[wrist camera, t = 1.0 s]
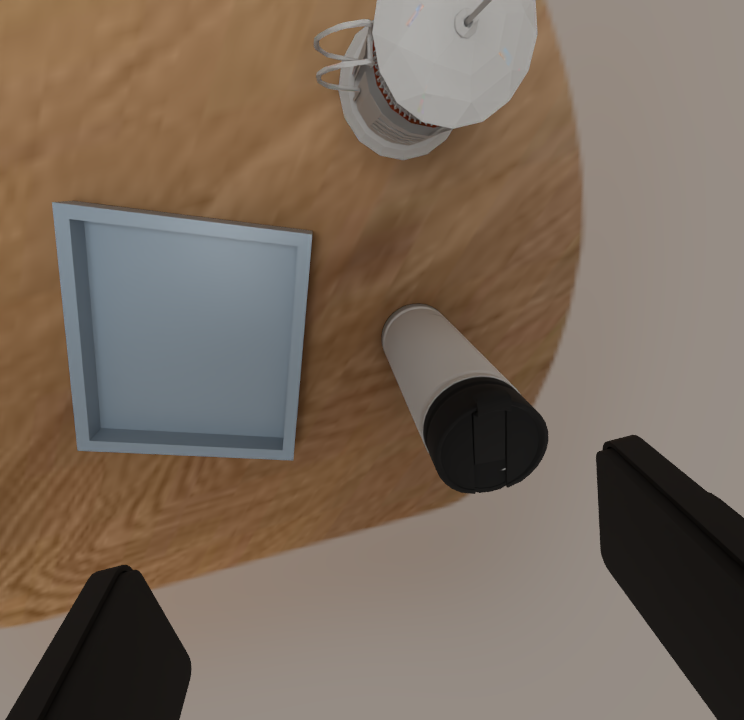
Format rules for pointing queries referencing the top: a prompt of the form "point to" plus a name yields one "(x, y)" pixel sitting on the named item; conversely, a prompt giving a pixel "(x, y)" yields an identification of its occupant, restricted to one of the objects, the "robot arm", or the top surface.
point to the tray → (182, 331)
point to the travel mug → (462, 404)
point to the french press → (430, 69)
